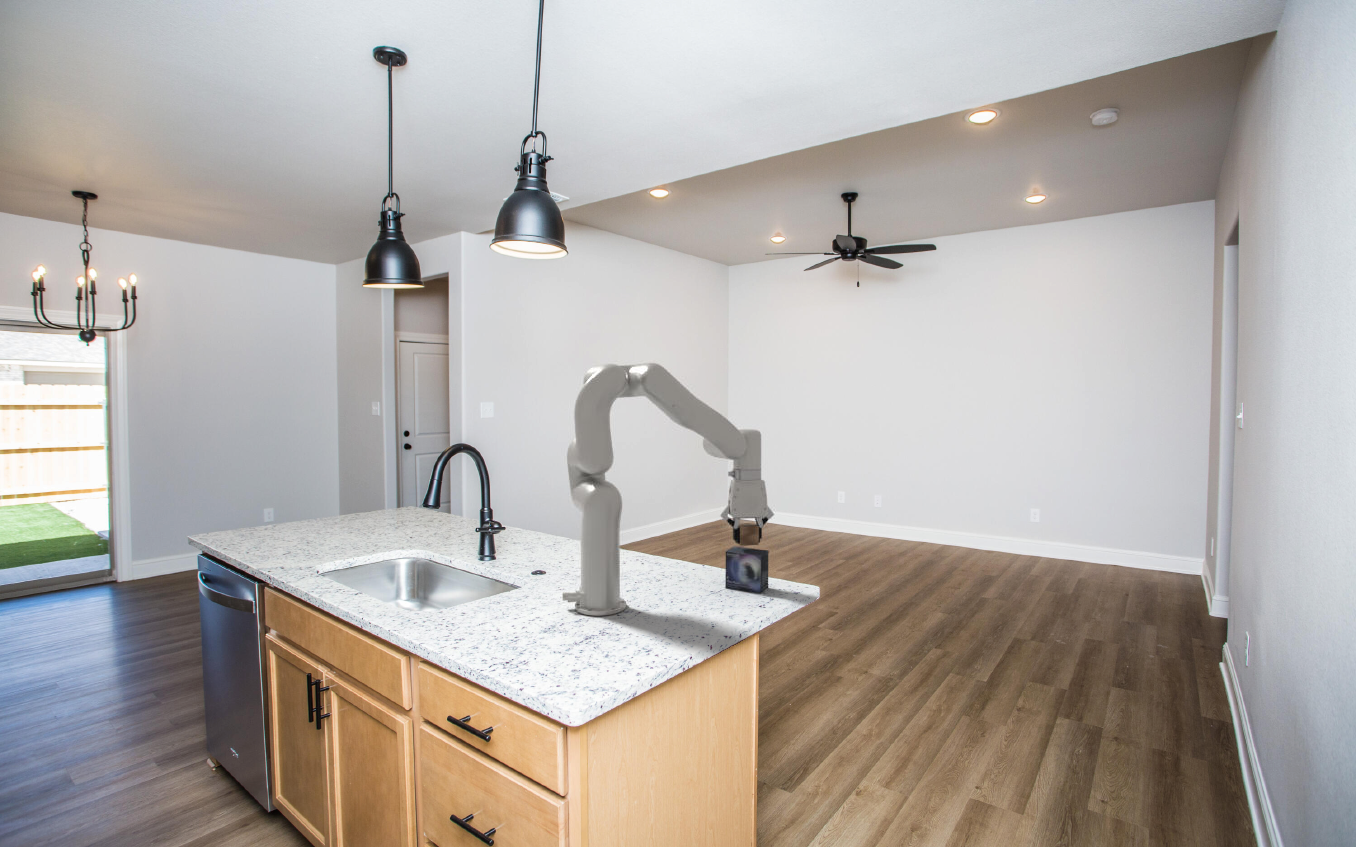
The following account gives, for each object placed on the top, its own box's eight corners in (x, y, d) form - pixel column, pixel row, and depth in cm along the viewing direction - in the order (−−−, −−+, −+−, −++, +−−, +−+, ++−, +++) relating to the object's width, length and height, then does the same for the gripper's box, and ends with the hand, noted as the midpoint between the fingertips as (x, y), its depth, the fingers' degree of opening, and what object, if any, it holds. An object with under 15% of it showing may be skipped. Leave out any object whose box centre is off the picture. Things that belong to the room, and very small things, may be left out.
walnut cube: (740, 545, 175) (740, 527, 174) (735, 541, 180) (735, 523, 179) (758, 544, 176) (758, 526, 175) (753, 540, 180) (753, 522, 180)
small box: (723, 588, 178) (724, 550, 177) (733, 582, 183) (733, 545, 183) (760, 594, 173) (761, 555, 172) (769, 587, 178) (769, 549, 178)
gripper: (719, 477, 172) (719, 546, 172) (782, 476, 174) (781, 543, 175) (713, 474, 179) (713, 540, 180) (773, 472, 182) (773, 537, 183)
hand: (747, 541), depth 177 cm, fingers closed on walnut cube, 5 cm apart
